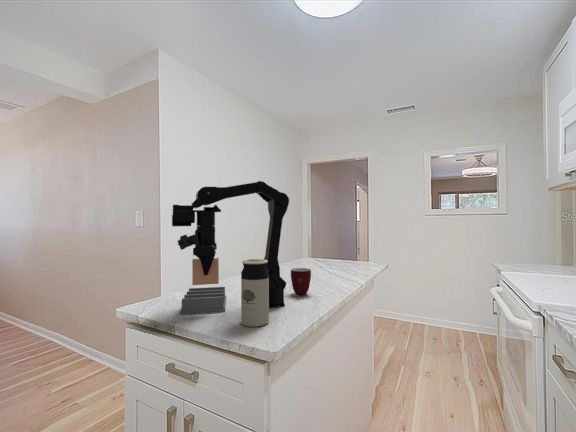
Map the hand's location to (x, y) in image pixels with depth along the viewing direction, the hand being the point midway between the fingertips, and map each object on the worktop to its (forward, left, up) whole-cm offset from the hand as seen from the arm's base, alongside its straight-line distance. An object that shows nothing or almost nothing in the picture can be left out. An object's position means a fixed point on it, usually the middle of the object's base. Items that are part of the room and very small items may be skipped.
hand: (206, 274), depth 93 cm
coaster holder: (+1, -8, -12) cm, 15 cm away
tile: (0, 0, -3) cm, 3 cm away
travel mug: (-15, +12, -13) cm, 23 cm away
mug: (-35, -15, -13) cm, 40 cm away
